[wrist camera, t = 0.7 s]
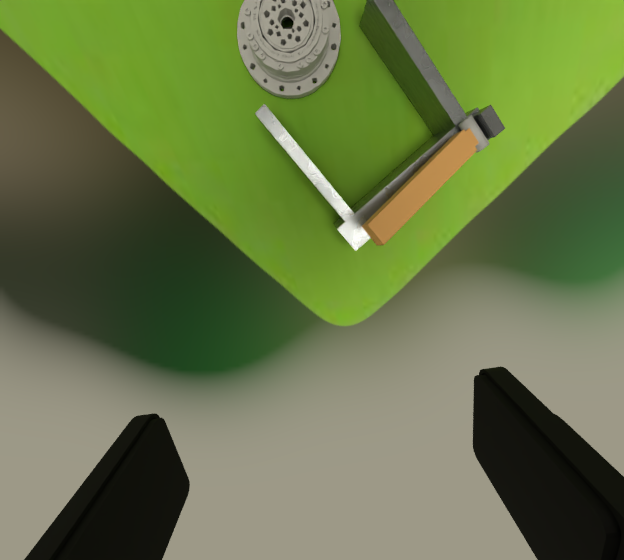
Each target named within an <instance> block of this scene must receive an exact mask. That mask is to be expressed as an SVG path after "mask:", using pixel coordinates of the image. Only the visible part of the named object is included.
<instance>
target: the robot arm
mask: <svg viewBox="0 0 624 560" xmlns="http://www.w3.org/2000/svg"><path fill="white" fill-rule="evenodd" d="M473 416H474V417H473V418H474V419H473V449H474V452H475V455H476V458H477V460H478V461H479V463H480V464H481V466H482V468H483V469H484V471H485V473H486V474H487V476H488V478H489V480H490V481H491V483H492V485H493V486H494V488H495V490H496V491H497V493H498V495H499V496H500V498H501V500H502V501H503V503H504V505H505V506H506V508H507V510H508V511H509V513H510V515H511V516H512V518H513V520H514V521H515V523H516V524H517V526H518V528H519V529H520V531H521V533H522V534H523V536H524V538H525V539H526V541H527V543H528V544H529V546H530V548H531V549H532V551H533V553H534V554H535V556H536V558H537V559H538V560H624V477H623V476H622V475H621V474H620V473H619V472H618V471H617V470H616V469H615V468H614V467H612V466H611V465H610V464H609V463H608V462H607V461H606V460H605V459H604V458H603V457H602V456H601V455H600V454H599V453H598V452H597V451H596V450H594V449H593V448H592V447H591V446H590V445H589V444H588V443H587V442H586V441H585V440H584V439H583V438H581V436H580V435H578V434H577V433H576V432H575V431H574V430H573V429H572V428H571V427H570V426H569V425H568V424H567V423H565V421H563V420H562V419H561V418H560V417H558V416H557V415H555V414H553V413H552V412H551V411H550V410H549V409H548V408H547V407H546V406H545V405H544V404H543V403H542V402H541V401H539V399H537V398H536V397H535V396H534V395H533V394H532V393H531V392H530V391H529V390H528V389H527V388H526V387H525V386H524V385H523V384H522V383H521V382H519V381H518V380H517V379H516V378H515V377H514V376H513V375H512V374H511V373H510V372H509V371H508V370H507V369H506V368H504V367H496V368H489V369H482V370H480V372H479V375H477V376H475V378H474V412H473ZM189 485H190V484H189V479H188V476H187V474H186V472H185V469H184V467H183V464H182V462H181V459H180V457H179V454H178V452H177V450H176V447H175V445H174V442H173V440H172V437H171V435H170V432H169V430H168V428H167V425H166V423H165V421H164V419H162V418H160V417H159V416H158V415H157V414H148V415H140V416H136V417H134V418H133V419H132V420H131V421H130V422H129V424H128V425H127V426H126V428H125V429H124V430H123V432H122V433H121V434H120V435H119V437H118V438H117V439H116V441H115V442H114V443H113V445H112V446H111V447H110V449H109V450H108V451H107V452H106V454H105V455H104V456H103V458H102V459H101V460H100V462H99V463H98V464H97V465H96V467H95V468H94V469H93V471H92V472H91V473H90V475H89V476H88V477H87V479H86V480H85V481H84V482H83V484H82V485H81V486H80V488H79V489H78V490H77V492H76V493H75V494H74V496H73V497H72V498H71V499H70V501H69V502H68V503H67V505H66V506H65V507H64V509H63V510H62V511H61V513H60V514H59V515H58V516H57V518H56V519H55V520H54V522H53V523H52V524H51V526H50V527H49V528H48V530H47V531H46V532H45V533H44V535H43V536H42V537H41V539H40V540H39V541H38V543H37V544H36V545H35V546H34V548H33V549H32V550H31V552H30V553H29V555H28V556H27V557H26V558H25V559H24V560H162V558H163V556H164V553H165V551H166V548H167V546H168V543H169V540H170V538H171V536H172V533H173V531H174V528H175V526H176V523H177V521H178V518H179V515H180V513H181V511H182V508H183V506H184V503H185V501H186V498H187V496H188V492H189Z"/></svg>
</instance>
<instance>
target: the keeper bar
mask: <svg viewBox="0 0 624 560" xmlns="http://www.w3.org/2000/svg"><path fill="white" fill-rule="evenodd" d="M458 126H459V127H460V129H461V130H462V131H460V132H458V133H457V134H455V135H453V136H452V137H451V138H450V139H449V140H448V141H447V142H446V143H445V144H444V145H443V146H442V147H441V148H440V149H439V150H438V151H437V152H436V153H435V154H434V155H433V156H432V157H431V158H430V159H429V160H428V161H427V162H426V163H425V164H424V165H423V166H422V167H421V168H420V169H419V170H418V171H417V172H416V173H415V174H414V175H413V176H412V177H411V178H410V179H409V180H408V181H407V182H406V183H405V184H404V185H403V186H402V187H401V188H400V189H399V190H398V191H397V192H396V193H395V194H394V195H393V196H392V197H391V198H390V199H389V200H388V201H387V202H386V203H385V204H384V205H383V206H382V207H381V208H380V209H378V210H377V211H376V212H375V213H374V214H373V215H372V216H371V217H370V218H369V219H368V220H367V221H366V222H365V223H364V224H363V225H362V228H363V229H364V230H365V231H366V232H367V234H368V235H369V236H370V237H371V239H372V240H373V241H374V242H375V243H376V245H384V244H385V243H386V242H387V241H388V240H389V239H390V238H391V237H392V236H393V235H394V234H395V233H396V232H397V231H398V230H399V229H400V228H401V227H402V226H403V225H404V224H405V223H406V222H407V221H408V220H409V219H410V218H411V217H412V216H413V215H414V214H415V213H416V212H417V211H418V210H419V209H420V208H421V207H422V206H423V205H424V204H425V203H426V202H427V201H428V200H429V199H430V198H431V197H432V196H433V195H434V194H435V192H436V191H437V190H438V189H439V188H440V187H441V186H442V185H443V184H444V183H445V182H446V181H447V180H448V179H449V178H450V177H451V176H452V175H453V174H454V173H455V172H456V171H457V170H458V169H459V168H460V167H461V166H462V165H463V164H464V163H465V162H466V161H467V160H468V159H469V158H470V157H471V156H472V155H473V154H474V153H475V152H479V151H481V150H482V149H484V148H485V147H486V146H488V145H489V142H488V140H487V139H486V137H485V135H484V134H483V132H482V131H481V129H480V127H479V126H478V124H477V123H476V121H475V120H474V118H473V116H472V115H470V116H468V117H467V118H465V119H464V120H463V121H462V122H460V123H459V125H458Z"/></svg>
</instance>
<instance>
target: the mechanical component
mask: <svg viewBox="0 0 624 560" xmlns="http://www.w3.org/2000/svg"><path fill="white" fill-rule="evenodd" d="M287 19H292V20H293V22H294V24H293V27H292V26H291V27H286V28H283V24H282V21H284V20H287ZM244 28H245V29H244ZM237 38H238V45H239V50H240V53H241V56H242V59H243V62H244V64H245V66H246V67H247V69H248V71H249V72H250V74H251V76H252V77H253V79H254V80H255V81H256V82H257V83H258V84H259V85H260V86H261V87H262V88H263V89H264V90H266V91H267V92H269V93H271V94H273V95H274V96H278V97H282V98H287V99H291V98H301V97H304V96H308V95H309V94H311V93H313V92H315V91H316V90H317V89H318V88H319V87H320V86H321V85H323V84H324V83H325V82H326V80H327V79H328V77H329V76H330V74H331V72H332V71H333V69H334V66H335V63H336V61H337V58H338V52H339V46H340V41H341V33H340V19H339V16H338V14H337V11H336V8H335V5H334V2H333V0H244V2H243V4H242V6H241V9H240V14H239V18H238V24H237ZM332 49H335V50H332ZM254 67H255V69H254V70H253V68H254ZM314 81H316V82H317V83H314V84H313V82H314ZM281 89H284V91H282V92H281ZM298 89H299V90H298Z"/></svg>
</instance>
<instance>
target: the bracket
mask: <svg viewBox="0 0 624 560" xmlns="http://www.w3.org/2000/svg"><path fill="white" fill-rule="evenodd" d="M360 28H361V29H362V31H363V32H364V34H365V35H366V36H367V38H368V39H369V41H370V42H371V44H372V45H373V47H374V48H375V50H376V51H377V53H378V54H379V56H380V57H381V59H382V60H383V61H384V63H385V64H386V66H387V67H388V69H389V70H390V72H391V73H392V75H393V76H394V78H395V79H396V81H397V82H398V84H399V85H400V86H401V88H402V89H403V91H404V92H405V94H406V95H407V97H408V98H409V100H410V101H411V103H412V104H413V106H414V107H415V109H416V110H417V111H418V113H419V114H420V116H421V117H422V119H423V120H424V122H425V123H426V125H427V126H428V128H429V129H430V131H431V132H432V134H433V135H434V136H433V137H431V138H430V139H429V140H428V141H427V142H426V143H425V144H423V145H422V146H421V147H420V148H419V149H418V150H417V151H416V152H414V153H413V154H412V155H411V156H410V157H409V158H408V159H406V160H405V161H404V162H403V163H402V164H401V165H400V166H398V167H397V168H396V169H395V170H394V171H393V172H392V173H390V174H389V175H388V176H387V177H386V178H385V179H384V180H382V181H381V182H380V183H379V184H378V185H377V186H376V187H374V188H373V189H372V190H371V191H370V192H369V193H368V194H366V195H365V196H364V197H363V198H362V199H361V200H360V201H358V202H357V203H356V204H355V205H354V206H353V207H352V208H349V206H348V205H347V204H346V203H345V202H344V200H343V199H342V198H341V197H340V195H339V194H338V193H337V192H336V191H335V189H334V188H333V187H332V186H331V184H330V183H329V182H328V181H327V180H326V178H325V177H324V176H323V175H322V173H321V172H320V171H319V170H318V169H317V167H316V166H315V165H314V164H313V162H312V161H311V160H310V159H309V158H308V156H307V155H306V154H305V153H304V151H303V150H302V149H301V148H300V147H299V145H298V144H297V143H296V142H295V140H294V139H293V138H292V137H291V136H290V134H289V133H288V132H287V131H286V130H285V128H284V127H283V126H282V125H281V123H280V122H279V121H278V120H277V119H276V117H275V116H274V115H273V114H272V112H271V111H270V110H269V109H268V108H267V106H266V105H265V104H264V105H263V106H262V107H261V108H260V109H259V110H258V111H257V112H256V113H255V114H256V116H257V117H258V118H259V120H260V121H261V122H262V124H263V125H264V126H265V127H266V129H267V130H268V131H269V132H270V133H271V135H272V136H273V137H274V138H275V139H276V140H277V142H278V143H279V144H280V145H281V146H282V148H283V149H284V150H285V151H286V152H287V154H288V155H289V156H290V157H291V158H292V160H293V161H294V162H295V163H296V164H297V166H298V167H299V168H300V169H301V170H302V172H303V173H304V174H305V175H306V176H307V178H308V179H309V180H310V181H311V182H312V184H313V185H314V186H315V187H316V188H317V190H318V191H319V192H320V193H321V194H322V195H323V197H324V198H325V199H326V200H327V201H328V203H329V204H330V205H331V206H332V207H333V209H334V210H335V211H336V212H337V213H338V215H339V216H340V218H339V219H338V220H337V221H336V222H335V223H334V225H335V227H336V228H337V230H338V231H339V232H340V233H341V234H342V235H343V237H344V238H345V239H346V240H347V241H348V242H349V244H350V245H351V246H352V247H353V248H354V250H355V251H356V250H357V249H358V248H359V247H361V246H362V245H363V244H364V243H365V242H367V241H368V240H369V239H370V238H371V237H370V236H369V235H368V234H367V232H366V231H365V230H364V229H363V228H362V225H363V224H364V223H365V222H366V221H367V220H368V219H369V218H370V217H371V216H372V215H373V214H374V213H375V212H376V211H377V210H378V209H380V208H381V207H382V206H383V205H384V204H385V203H386V202H387V201H388V200H389V199H390V198H391V197H392V196H393V195H394V194H395V193H396V192H397V191H398V190H399V189H400V188H401V187H402V186H403V185H404V184H405V183H406V182H407V181H408V180H409V179H410V178H411V177H412V176H413V175H414V174H415V173H416V172H417V171H418V170H419V169H420V168H421V167H422V166H423V165H424V164H425V163H426V162H427V161H428V160H429V159H430V158H431V157H432V156H433V155H434V154H435V153H436V152H437V151H438V150H439V149H440V148H441V147H442V146H443V145H444V144H445V143H446V142H447V141H448V140H449V139H450V138H451V137H452V136H453V135H455V134H457V133H458V132H460V131H462V130H461V129H460V127H459V126H458V125H459V123H460V122H462V121H463V120H464V119H465V118H467V117H468V116H470V115H472V116H473V118H474V120H475V121H476V123H477V124H478V126H479V127H480V129H481V131H482V132H483V134H484V135H485V137H486V139H487V140H489V139H490V138H492V137H495V136H496V135H498V134H499V133H500V132H501V131H502V130H504V129H505V127H504V126H503V124H502V122H501V121H500V119H499V117H498V116H497V114H496V112H495V111H494V109H493V108H492V106H491V105H489V106H487V107H485V108H483V109H481V110H479V109H478V108H475V109H473V110H471V111H469V112H467V113H464V111H463V109H462V108H461V106H460V105H459V103H458V102H457V100H456V98H455V97H454V95H453V94H452V92H451V91H450V89H449V87H448V86H447V84H446V83H445V81H444V80H443V78H442V76H441V75H440V73H439V72H438V70H437V69H436V67H435V65H434V64H433V62H432V61H431V59H430V58H429V56H428V54H427V53H426V51H425V50H424V48H423V47H422V45H421V43H420V42H419V40H418V39H417V37H416V36H415V34H414V32H413V31H412V29H411V28H410V26H409V25H408V23H407V21H406V20H405V18H404V17H403V15H402V14H401V12H400V10H399V9H398V7H397V6H396V4H395V3H394V1H393V0H367V2H366V6H365V9H364V12H363V16H362V19H361V22H360Z"/></svg>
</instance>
